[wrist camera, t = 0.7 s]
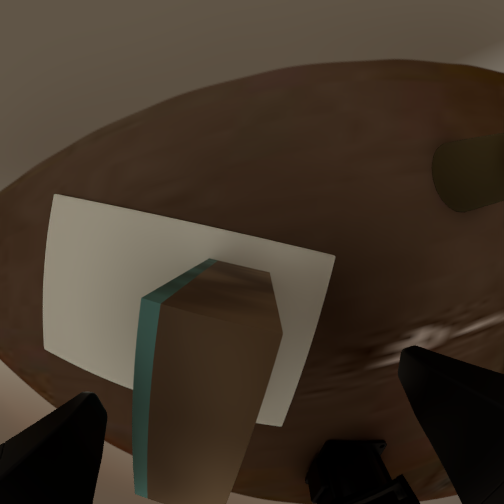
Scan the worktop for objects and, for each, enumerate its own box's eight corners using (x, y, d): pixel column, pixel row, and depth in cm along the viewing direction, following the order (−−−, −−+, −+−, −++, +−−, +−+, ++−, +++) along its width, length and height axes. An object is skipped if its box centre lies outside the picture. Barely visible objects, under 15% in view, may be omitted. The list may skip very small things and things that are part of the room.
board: (331, 254, 19) (335, 255, 18) (280, 419, 20) (281, 426, 19) (61, 194, 19) (54, 193, 18) (50, 345, 20) (44, 348, 19)
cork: (479, 218, 18) (574, 218, 8) (430, 204, 19) (536, 191, 8) (479, 154, 18) (565, 128, 7) (431, 133, 18) (521, 86, 7)
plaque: (269, 272, 18) (283, 333, 7) (237, 399, 19) (220, 517, 8) (209, 258, 18) (141, 297, 7) (185, 386, 19) (135, 493, 8)
